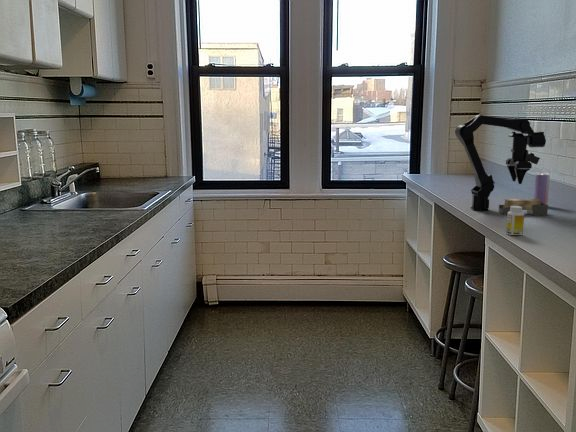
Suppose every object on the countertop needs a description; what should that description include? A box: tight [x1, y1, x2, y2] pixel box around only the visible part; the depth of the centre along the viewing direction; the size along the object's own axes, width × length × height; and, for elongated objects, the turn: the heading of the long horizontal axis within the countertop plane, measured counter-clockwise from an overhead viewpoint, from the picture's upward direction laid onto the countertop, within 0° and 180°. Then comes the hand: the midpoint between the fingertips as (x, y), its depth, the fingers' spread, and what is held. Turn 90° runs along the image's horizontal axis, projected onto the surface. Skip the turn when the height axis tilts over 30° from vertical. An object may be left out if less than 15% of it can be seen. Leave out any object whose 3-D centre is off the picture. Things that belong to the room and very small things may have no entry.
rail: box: [504, 198, 542, 211], centre depth 248 cm, size 14×4×4 cm, turn 87°
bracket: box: [526, 202, 549, 217], centre depth 248 cm, size 6×8×4 cm
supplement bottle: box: [505, 206, 525, 236], centre depth 207 cm, size 6×6×10 cm
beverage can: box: [533, 172, 551, 206], centre depth 266 cm, size 6×6×15 cm
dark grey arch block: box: [498, 204, 510, 216], centre depth 249 cm, size 4×8×3 cm, turn 174°
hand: (517, 182), depth 257 cm, fingers open, 9 cm apart
